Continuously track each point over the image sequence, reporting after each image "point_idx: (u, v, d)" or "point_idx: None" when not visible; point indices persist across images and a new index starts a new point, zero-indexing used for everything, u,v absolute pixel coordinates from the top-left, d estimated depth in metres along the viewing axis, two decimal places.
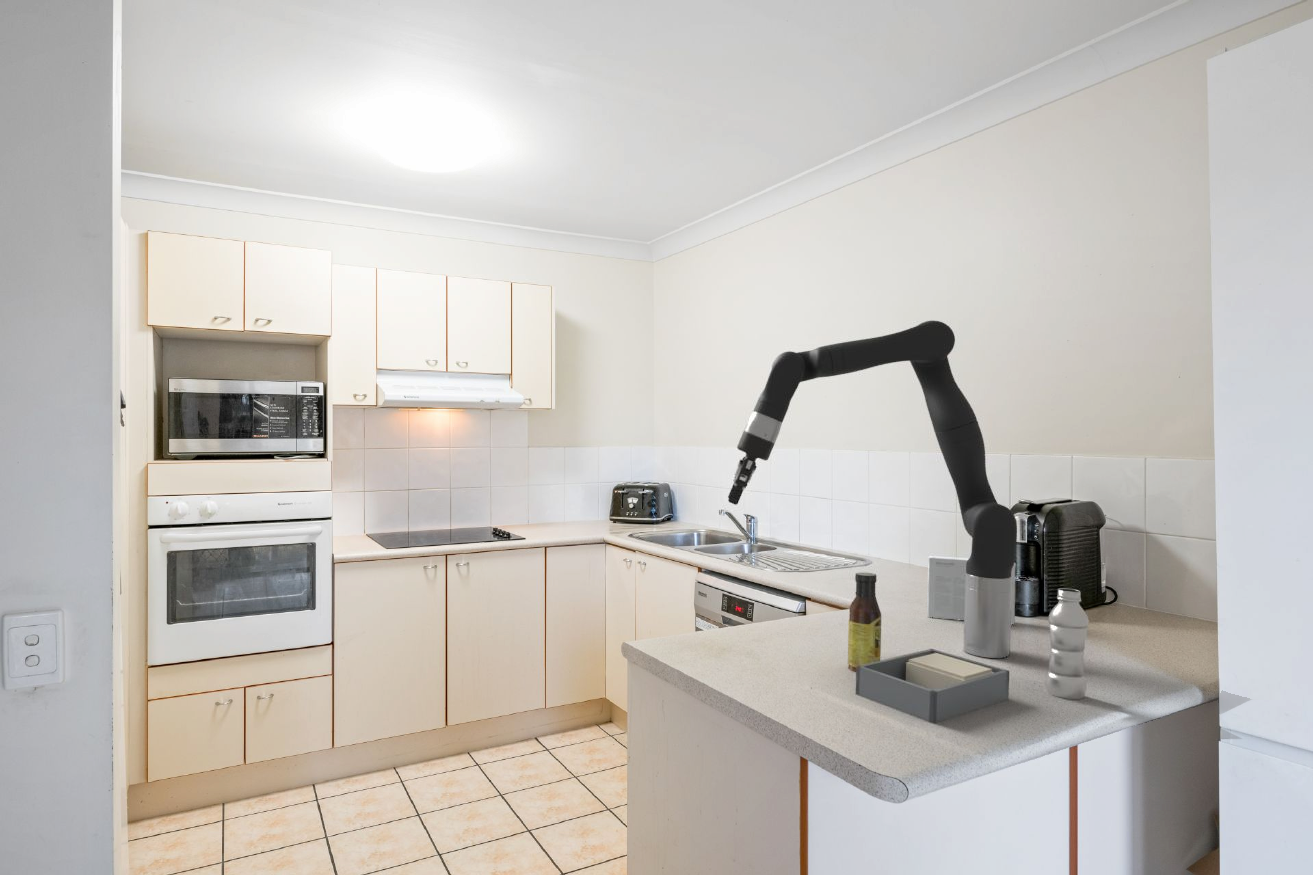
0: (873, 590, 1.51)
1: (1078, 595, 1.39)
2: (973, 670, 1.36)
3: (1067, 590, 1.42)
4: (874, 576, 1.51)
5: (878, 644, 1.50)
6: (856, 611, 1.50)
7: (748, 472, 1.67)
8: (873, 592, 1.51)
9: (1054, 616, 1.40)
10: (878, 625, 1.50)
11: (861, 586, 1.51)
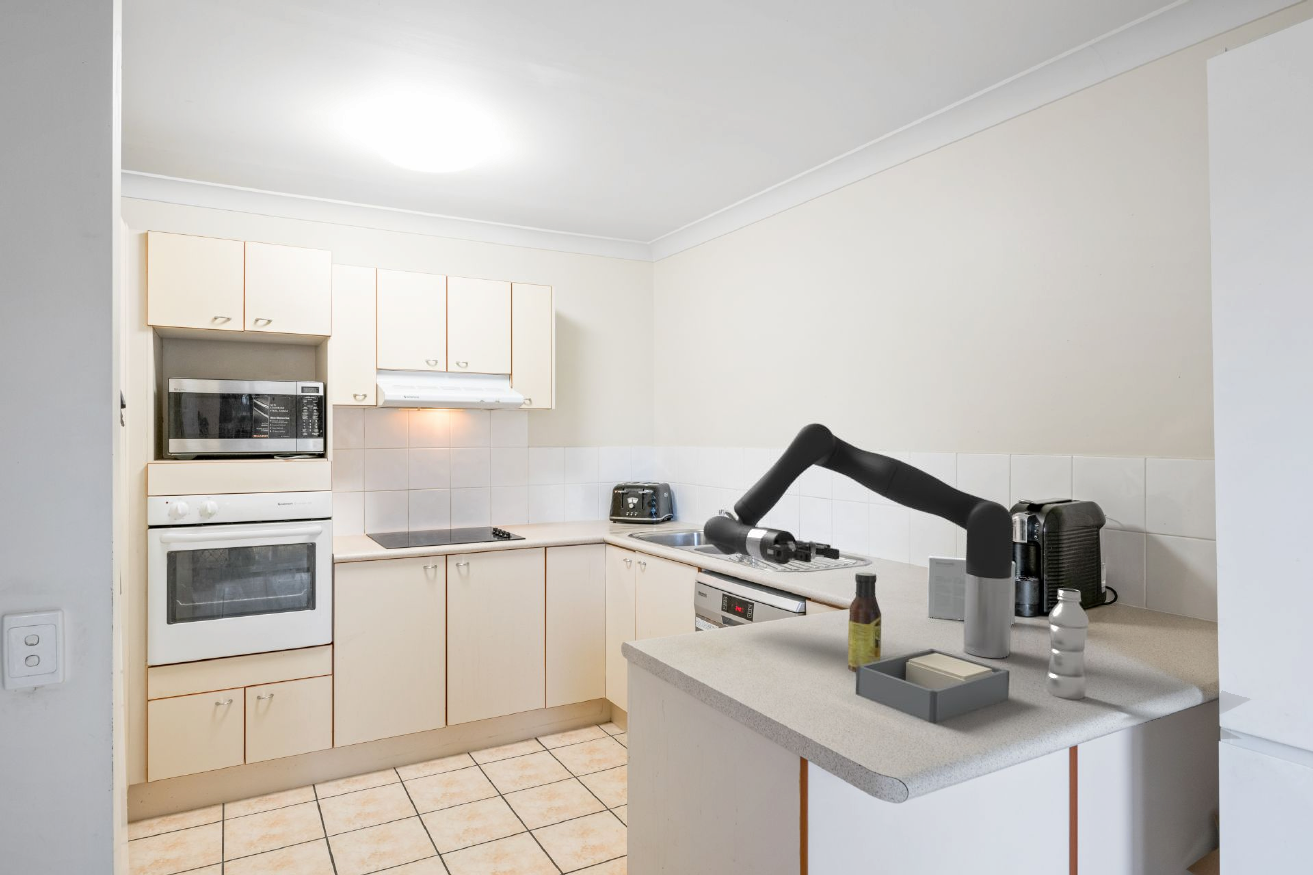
0: (873, 590, 1.51)
1: (1078, 595, 1.39)
2: (973, 670, 1.36)
3: (1067, 590, 1.42)
4: (874, 576, 1.51)
5: (878, 644, 1.50)
6: (856, 611, 1.50)
7: (774, 550, 1.63)
8: (873, 592, 1.51)
9: (1054, 616, 1.40)
10: (878, 625, 1.50)
11: (861, 586, 1.51)
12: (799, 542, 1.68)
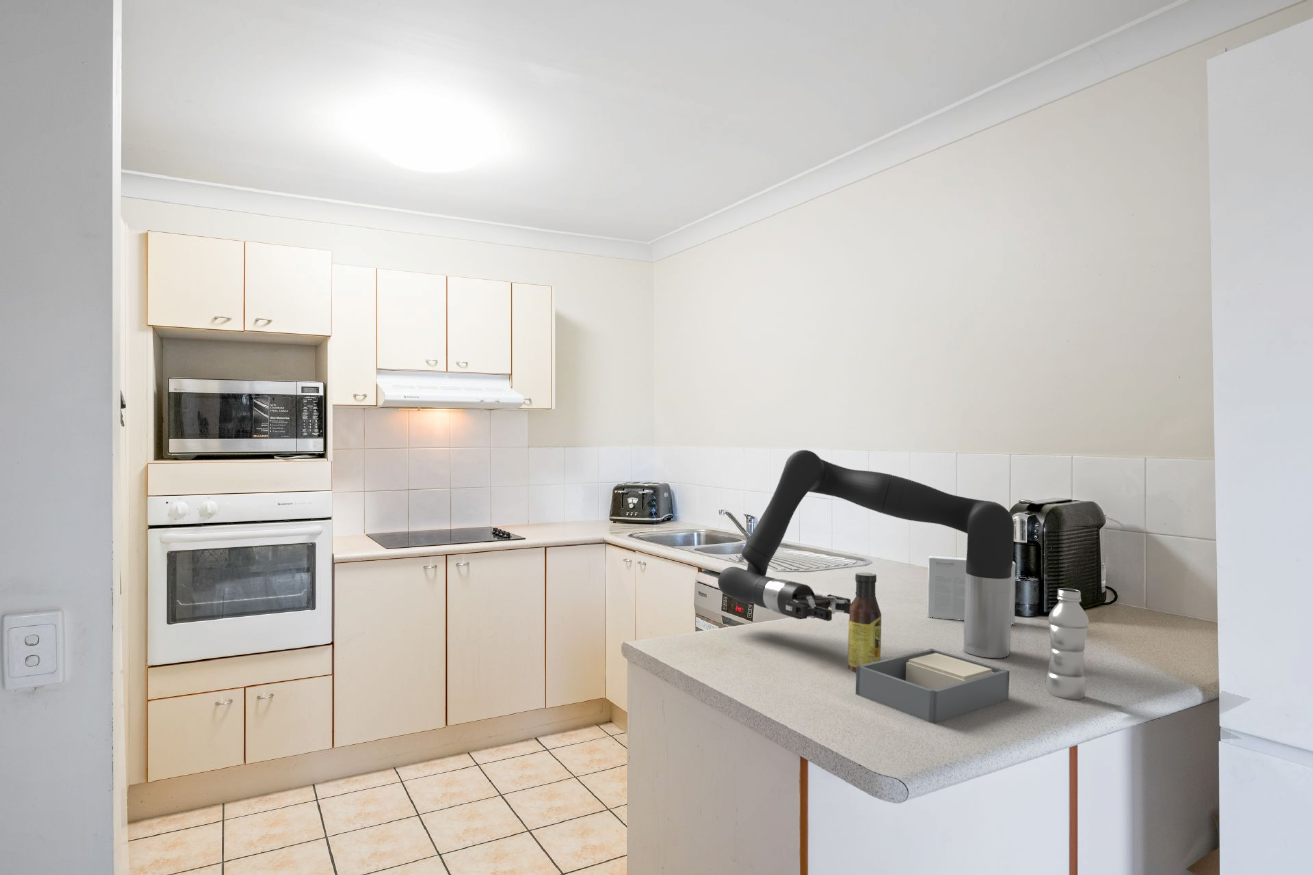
0: (873, 590, 1.51)
1: (1078, 595, 1.39)
2: (973, 670, 1.36)
3: (1067, 590, 1.42)
4: (874, 576, 1.51)
5: (878, 644, 1.50)
6: (856, 611, 1.50)
7: (793, 606, 1.59)
8: (873, 592, 1.51)
9: (1054, 616, 1.40)
10: (878, 625, 1.50)
11: (861, 586, 1.51)
12: (818, 597, 1.64)
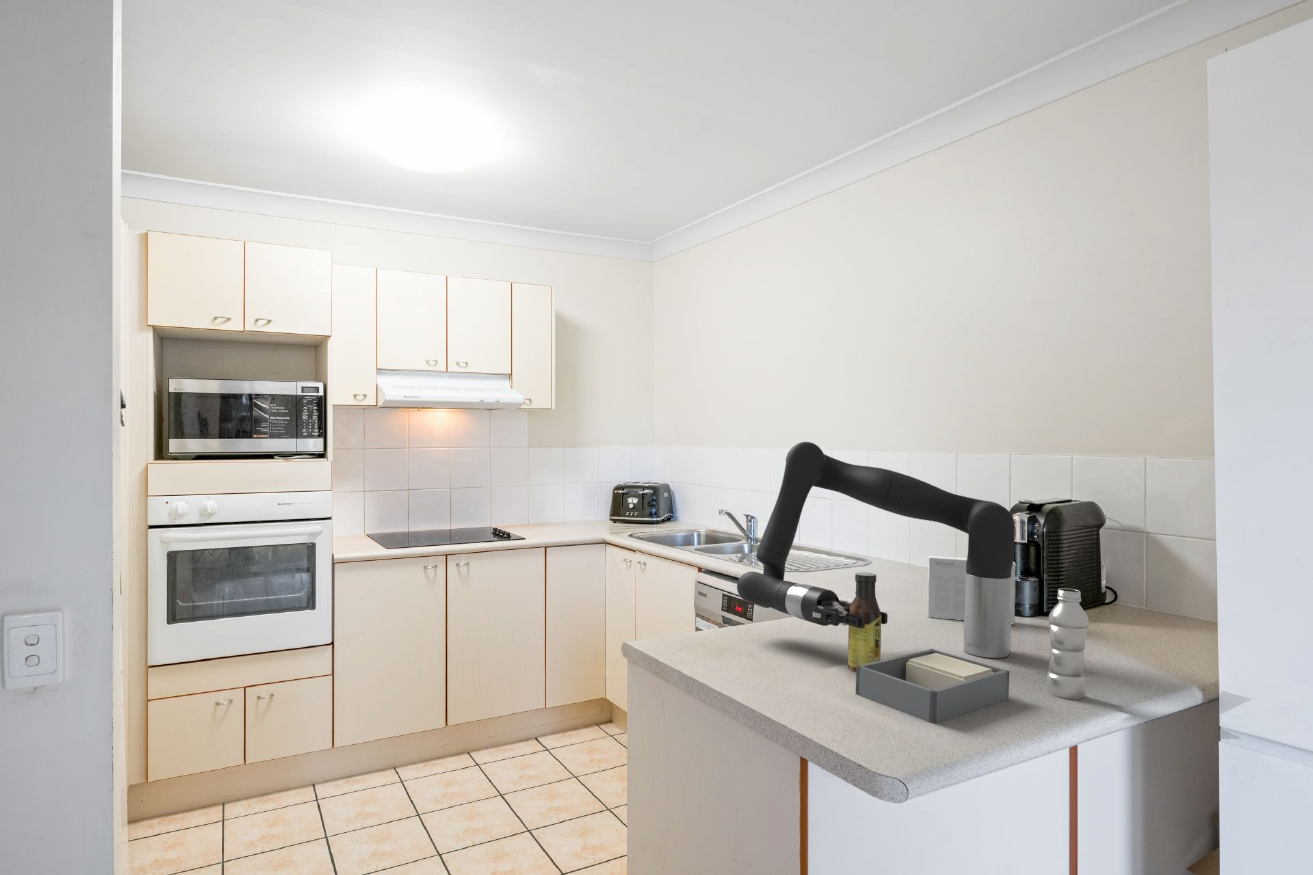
0: (873, 590, 1.51)
1: (1078, 595, 1.39)
2: (973, 670, 1.36)
3: (1067, 590, 1.42)
4: (874, 576, 1.51)
5: (878, 644, 1.50)
6: (855, 611, 1.50)
7: (822, 613, 1.53)
8: (873, 592, 1.51)
9: (1054, 616, 1.40)
10: (878, 625, 1.50)
11: (861, 586, 1.51)
12: (843, 603, 1.58)
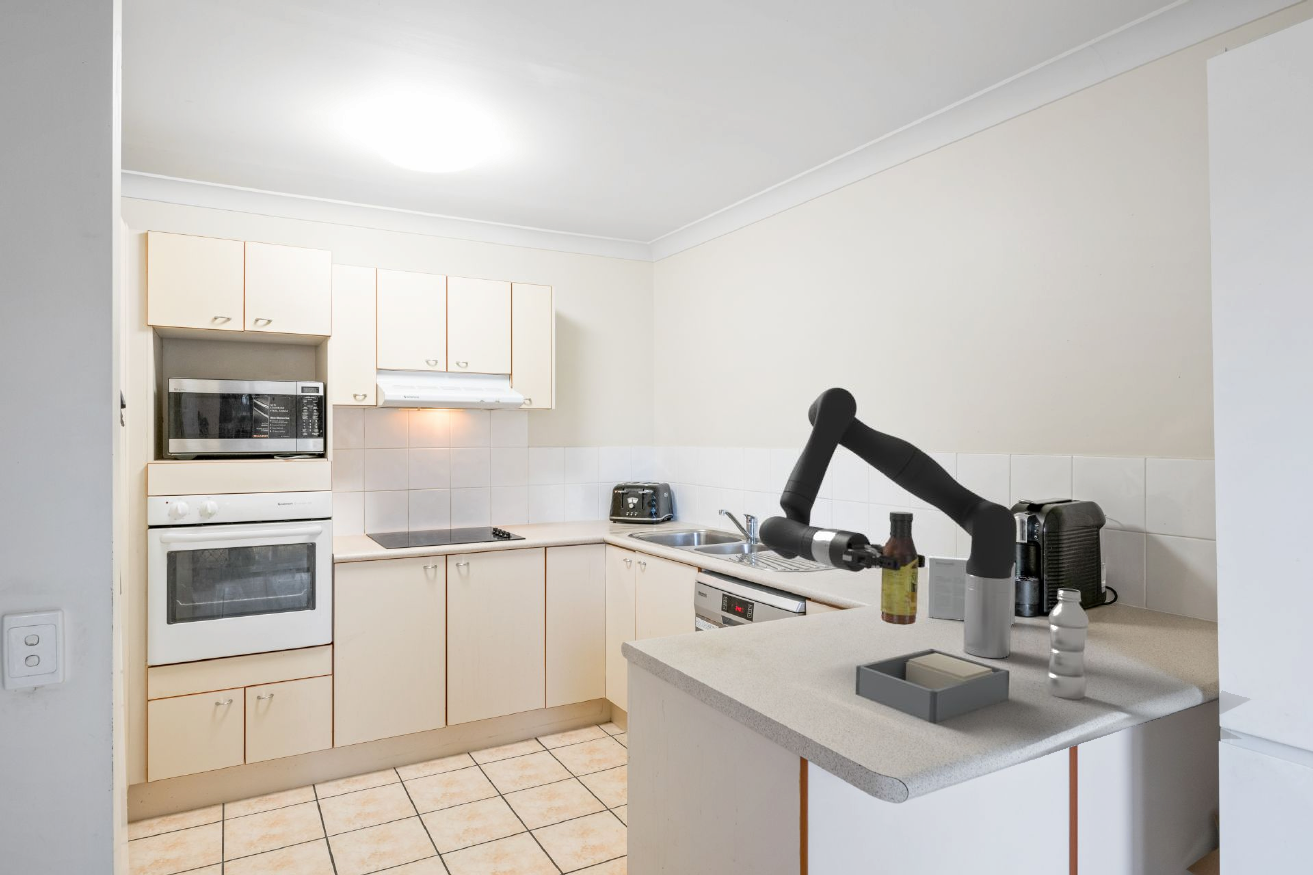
0: (909, 530, 1.38)
1: (1078, 595, 1.39)
2: (973, 670, 1.36)
3: (1067, 590, 1.42)
4: (910, 514, 1.38)
5: (915, 588, 1.37)
6: (890, 552, 1.37)
7: (853, 556, 1.40)
8: (909, 532, 1.38)
9: (1054, 616, 1.40)
10: (915, 568, 1.37)
11: (896, 526, 1.38)
12: (876, 546, 1.45)
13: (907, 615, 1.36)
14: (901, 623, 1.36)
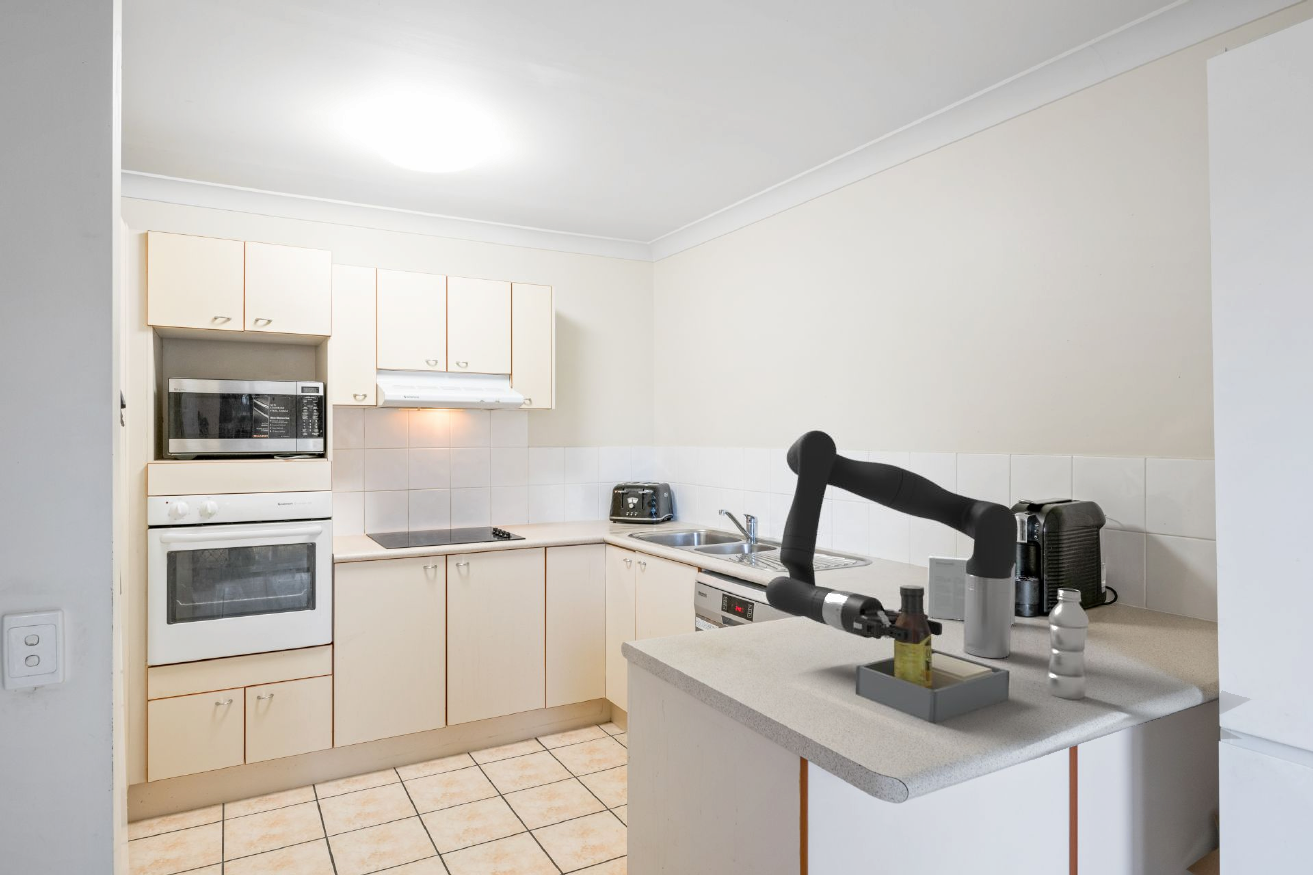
0: (921, 605, 1.34)
1: (1078, 595, 1.39)
2: (973, 670, 1.36)
3: (1067, 590, 1.42)
4: (922, 589, 1.34)
5: (929, 666, 1.32)
6: None
7: (863, 624, 1.35)
8: (921, 607, 1.34)
9: (1054, 616, 1.40)
10: (928, 645, 1.32)
11: (908, 601, 1.34)
12: (890, 612, 1.40)
13: None
14: None
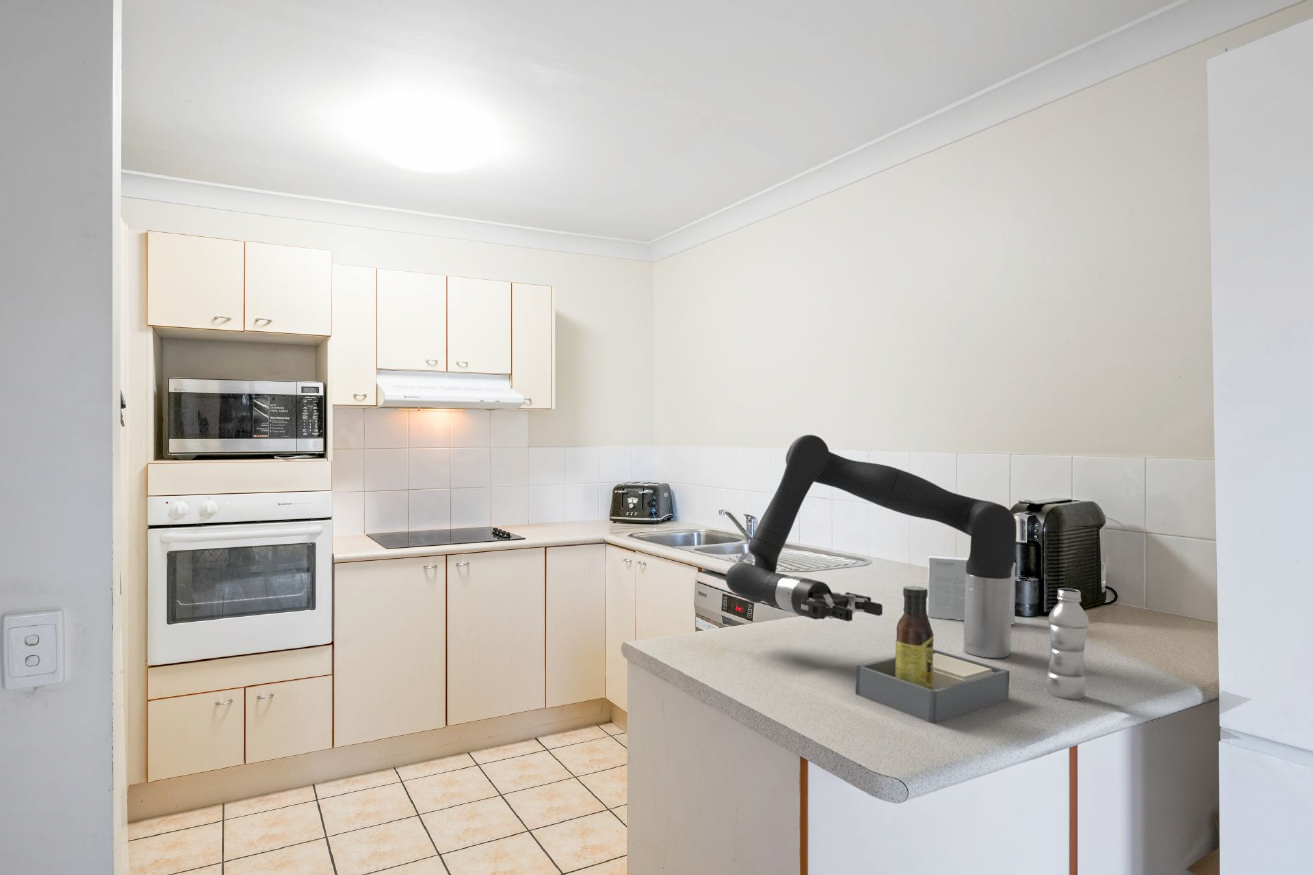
0: (924, 606, 1.33)
1: (1078, 595, 1.39)
2: (973, 670, 1.36)
3: (1067, 590, 1.42)
4: (925, 590, 1.33)
5: (930, 668, 1.32)
6: (905, 630, 1.33)
7: (809, 606, 1.46)
8: (924, 609, 1.33)
9: (1054, 616, 1.40)
10: (930, 646, 1.32)
11: (911, 602, 1.33)
12: (836, 595, 1.51)
13: None
14: None
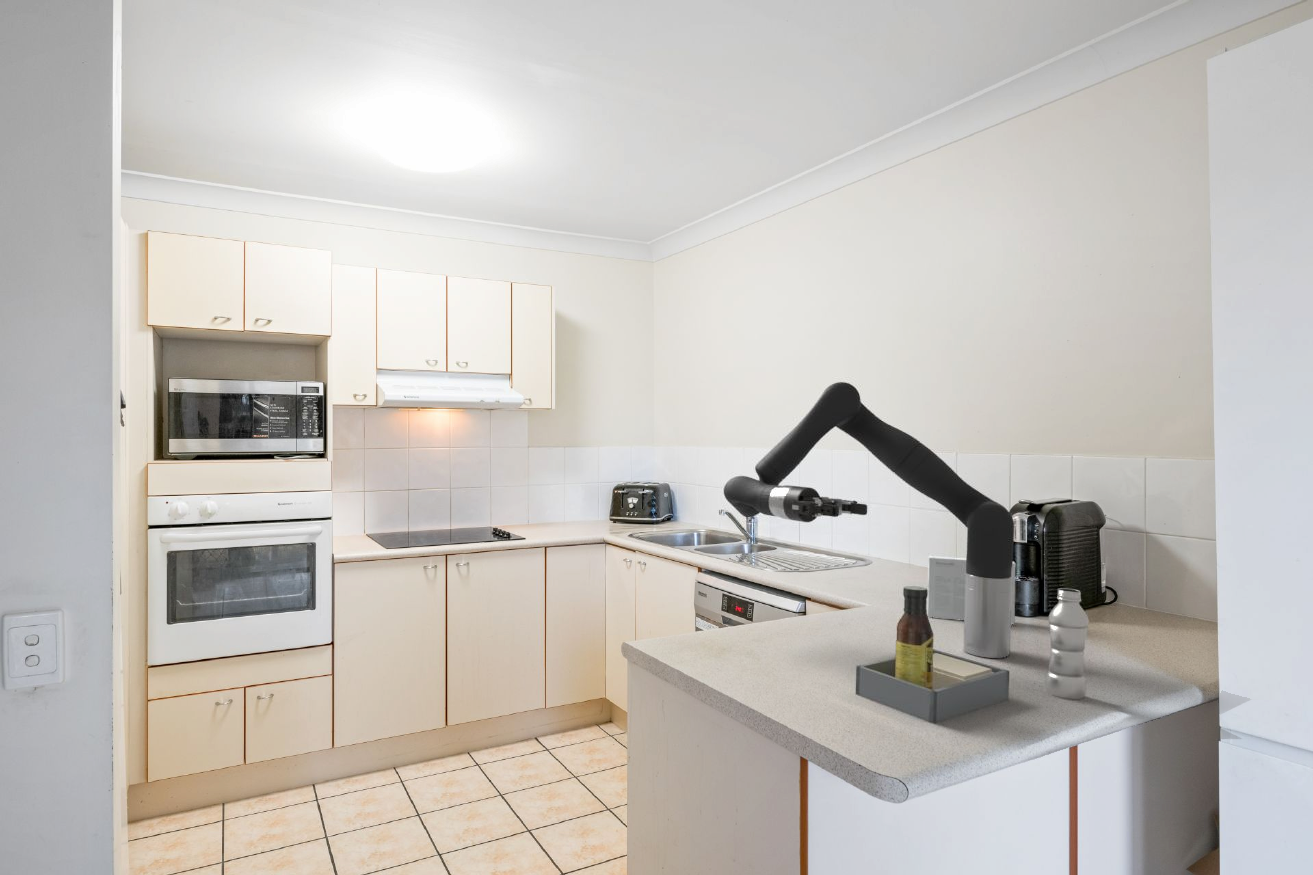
0: (924, 606, 1.33)
1: (1078, 595, 1.39)
2: (973, 670, 1.36)
3: (1067, 590, 1.42)
4: (925, 590, 1.33)
5: (930, 668, 1.32)
6: (905, 630, 1.33)
7: (799, 505, 1.58)
8: (924, 609, 1.33)
9: (1054, 616, 1.40)
10: (930, 646, 1.32)
11: (911, 602, 1.33)
12: (825, 498, 1.63)
13: None
14: None
